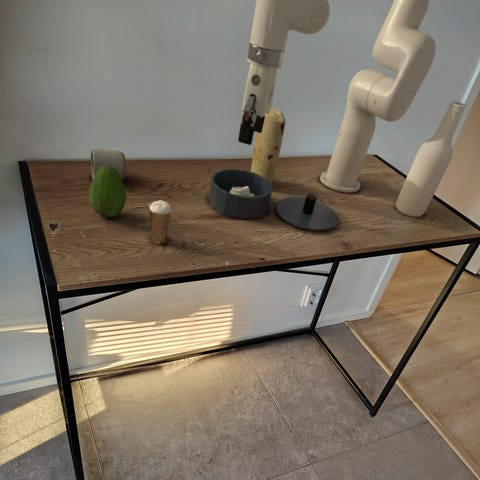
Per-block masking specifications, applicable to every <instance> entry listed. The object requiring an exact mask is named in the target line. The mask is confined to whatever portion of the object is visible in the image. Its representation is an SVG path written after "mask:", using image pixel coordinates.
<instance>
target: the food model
mask: <svg viewBox="0 0 480 480" xmlns="http://www.w3.org/2000/svg"><path fill="white" fill-rule="evenodd" d="M264 116H265V120H264V125H263V129H262V132H261V133H258V132H256V137H255V141H254V142H255V143H254V148H253V155H252V161H251V165H250V166H251V167H250V172H253V173H256V174H258V175H260V176H262V177H264V178H266V179H267V180H268V181H269V182H270V183H271V184H272V182H273V179H274V176H275V173H276V169H277V166H278V162H279V158H280V152H281V149H282V143H283V138H284V132H285V127H286V116H285V115H284V114H283V112H282V111H281V110H279V109H278V108H275V107H274V108H272V107H271V109H270V110H269V111H268V112H267V113H266V114H265V115H264Z"/></svg>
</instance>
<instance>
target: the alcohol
mask: <svg viewBox="0 0 480 480" xmlns="http://www.w3.org/2000/svg"><path fill="white" fill-rule="evenodd" d="M466 108H467V106H466V104H464V103H462V102H460V101H456V100H451V101H450V102H449V105H448V106H447V110H446V112H445V113H444V115H443V117H442V119H441V121H440V123H439V125H438V127H437V128H436V130H435V132H434V133H433V135H432V136H431V137H430V138H427V139H426V140H425V141H424V142H422V144H421V146H420V147H419V148H418V151H417V153H416V155H415V157H414V159H413V162H412V165H411V167H410V169H409V172H408V175H407V176H406V179H405V181H404V182H403V184H402V188H401V190H400V192H399V195H398V196H397V199H396V201H395V207H396V209H397V210H398V211H399V212H400V213H402V214H404V215H406V216H410V217H416V218H418V217H421V216H423V215H425V213H426V211H427V210H428V207H429V205H430V203H431V201H432V199H433V197H434V195H435V193H436V191H437V189H438V187H439V185H440V183H441V181H442V178H443V177H444V175H445V173H446V170H447V169H448V166H449V165H450V163H451V160H452V158H453V154H454V148H453V147H454V146H453V143H452V141H453V137H454V135H455V133H456V130H457V128H458V125H459V123H460V120H461V119H462V115H463V114H464V112H465V109H466Z"/></svg>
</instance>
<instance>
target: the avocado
mask: <svg viewBox="0 0 480 480" xmlns="http://www.w3.org/2000/svg"><path fill="white" fill-rule="evenodd" d="M127 200H128V199H127V192H126V188H125V184H124V182H123V179H122V180H121V177H120V175H119V173H118V172H117V171H116V169H114V168H113V167H111V166H109V165H104V166H101V167H100V168H99V169H98V170H97V172H96V174H95V176H94V178H93V177H92V181H91V184H90V187H89V201H90V202H89V203H90V204H91V207H92V209H93V210H94V211H95V212H96V213H97V214H99V215H100V216H102V217H104V218H105V217H106V218H114V217H116V216H118V215H119V214H121V212H122V211H123V209H124V207H125V205H126V202H127Z"/></svg>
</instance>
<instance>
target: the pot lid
mask: <svg viewBox="0 0 480 480" xmlns="http://www.w3.org/2000/svg"><path fill="white" fill-rule="evenodd" d="M317 199H318V197H317V195H315V194H313V193H307V194H306V196H305V197H304V196H303V197H302V196H290V197H289V196H288V197H284V198H281V199H280V200H279V201H278V202H277V203H276V206H275V210H276V211H275V212H276V213H277V215H278V217H279V218H281V219H282V220H283V221H285V222H286V223H288V224H290V225H292V226H294V227H296V228H300V229H303V230H307V231H312V232H313V231H315V232H324V231H328V230H331V229H333V228H335V227H336V226H337V224H338V222H339V217H338V215H337V213H336V212H335V211H334V210H333V209H332V208H331V207H329V206H328V205H327V204H324V203H323V202H320V201H319V200H317Z"/></svg>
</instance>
